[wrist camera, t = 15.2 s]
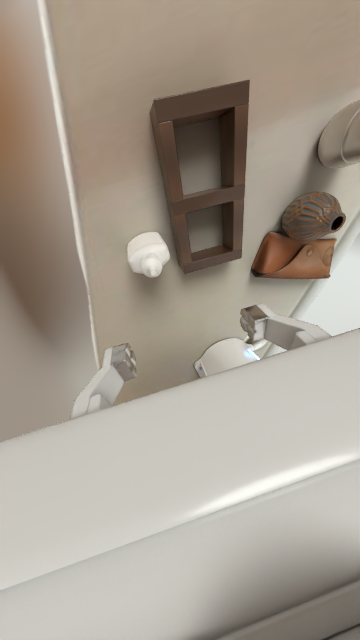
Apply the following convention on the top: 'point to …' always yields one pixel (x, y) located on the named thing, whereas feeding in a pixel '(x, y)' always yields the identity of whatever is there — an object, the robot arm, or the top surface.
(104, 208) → the top surface
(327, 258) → the sunglasses case
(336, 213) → the vase
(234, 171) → the stand
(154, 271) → the eye dropper bottle
